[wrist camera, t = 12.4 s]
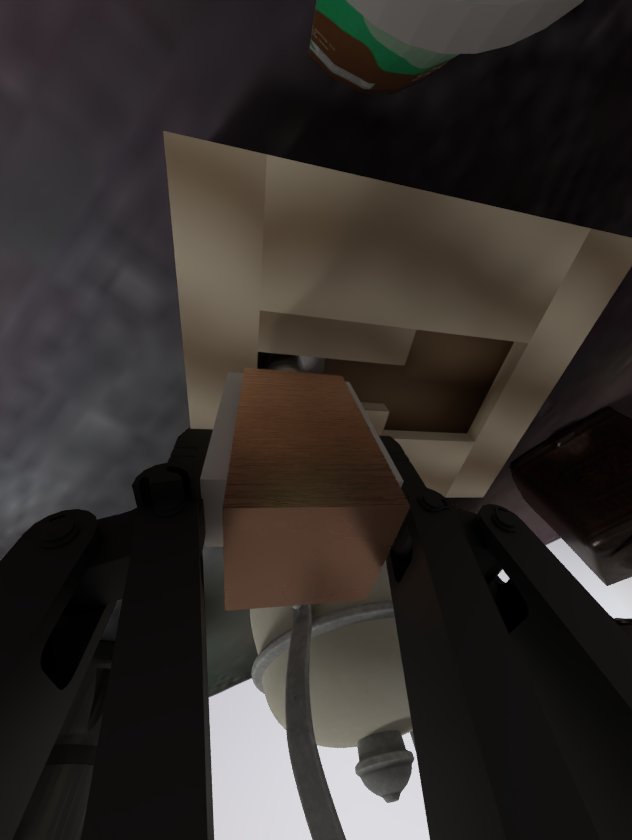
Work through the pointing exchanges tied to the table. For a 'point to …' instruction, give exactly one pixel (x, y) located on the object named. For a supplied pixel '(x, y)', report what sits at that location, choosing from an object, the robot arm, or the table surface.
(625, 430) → the manual coffee grinder
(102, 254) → the table surface
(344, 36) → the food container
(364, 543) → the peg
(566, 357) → the keyhole plate
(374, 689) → the kettle
